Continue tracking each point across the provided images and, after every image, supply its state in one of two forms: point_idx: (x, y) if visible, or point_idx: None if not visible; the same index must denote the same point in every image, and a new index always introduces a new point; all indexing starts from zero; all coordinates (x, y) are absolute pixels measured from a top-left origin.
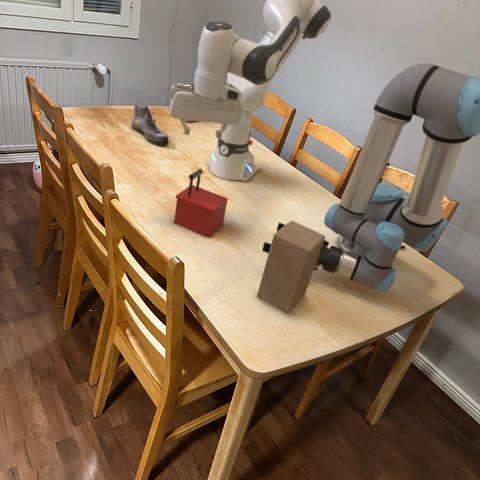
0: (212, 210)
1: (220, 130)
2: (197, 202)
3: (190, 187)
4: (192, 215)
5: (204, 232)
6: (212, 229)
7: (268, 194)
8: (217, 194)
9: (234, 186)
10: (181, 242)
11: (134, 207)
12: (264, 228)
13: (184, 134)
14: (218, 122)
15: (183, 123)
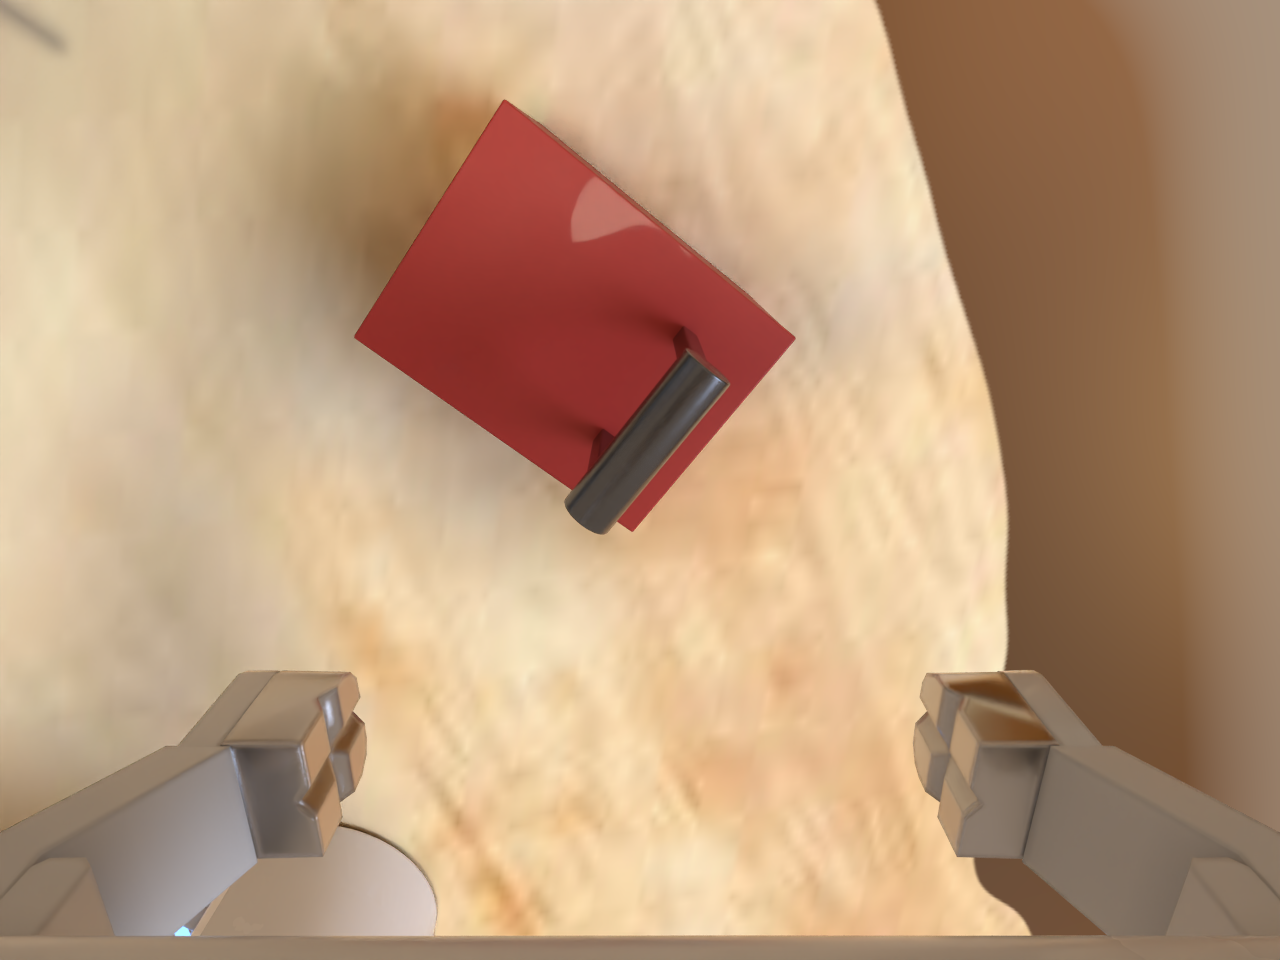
0: (514, 107)
1: (208, 814)
2: (631, 230)
3: (692, 345)
4: (656, 221)
5: (568, 147)
6: None
7: (83, 693)
8: (438, 395)
9: None
10: (737, 47)
11: (961, 461)
12: (130, 272)
13: (1020, 673)
14: (146, 950)
15: (1267, 843)
